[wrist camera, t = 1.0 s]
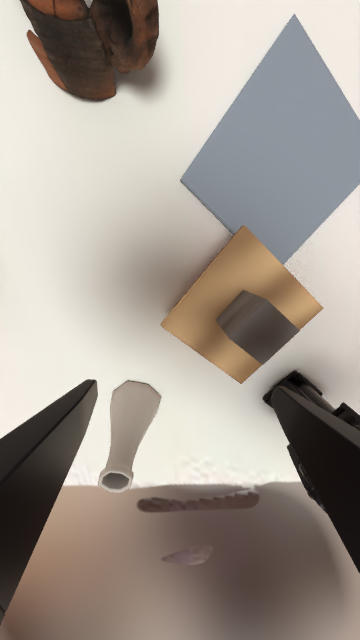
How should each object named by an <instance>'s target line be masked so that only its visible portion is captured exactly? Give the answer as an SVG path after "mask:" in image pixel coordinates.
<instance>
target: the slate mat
mask: <svg viewBox="0 0 360 640" xmlns="http://www.w3.org/2000/svg"><path fill="white" fill-rule="evenodd" d="M180 181H181V182H182V183H183V184H184V185H185V186H186V187H187V188H188V189H189V190H190V191H191V192H192V193H193V194H194V195H195V196H196V197H197V198H198V199H199V200H200V201H201V202H202V203H203V204H204V205H205V206H206V207H207V208H208V209H209V210H210V211H211V212H212V213H213V214H214V215H215V217H216V218H217V219H218V220H219V221H220V222H221V223H222V224H223V225H224V226H225V227H226V228H227V229H228V230H229V231H230V232H231V233H232V234H233V235H234V234H235V233H236V232H237V231H238V230H239V228H240V227H241V226H243V225H245V226H246V227H247V228H248V229H249V230H250V231H251V232H252V233H253V234H254V235H255V237H256V238H257V239H258V240H259V241H260V242H261V243H262V244H263V245H264V246H265V247H266V248H267V249H268V250H269V251H270V252H271V253H272V254H273V255H274V256H275V258H276V259H277V260H278V261H279V262H280V263H281V264H282V265H283V264H284V263H285V262H286V261H287V260H288V259H289V258H290V257H291V256H292V255H293V254H294V253H295V252H296V251H297V250H298V248H299V247H300V246H301V245H302V244H303V243H304V242H305V241H306V240H307V239H308V238H309V237H310V236H311V235H312V234H313V233H314V232H315V230H316V229H317V228H318V227H319V226H320V225H321V224H322V223H323V222H324V221H325V220H326V219H327V218H328V217H329V216H330V215H331V213H332V212H333V211H334V210H335V209H336V208H337V207H338V206H339V205H340V204H341V203H342V202H343V201H344V200H345V199H346V198H347V197H348V195H349V194H350V193H351V192H352V191H353V190H354V189H355V188H356V187H357V186H358V185H359V184H360V120H359V119H358V117H357V115H356V114H355V112H354V110H353V109H352V107H351V105H350V104H349V102H348V100H347V99H346V97H345V96H344V94H343V92H342V91H341V89H340V87H339V86H338V84H337V82H336V81H335V79H334V78H333V76H332V74H331V73H330V71H329V69H328V68H327V66H326V64H325V63H324V61H323V59H322V58H321V56H320V55H319V53H318V51H317V50H316V48H315V46H314V45H313V43H312V41H311V40H310V38H309V37H308V35H307V33H306V32H305V30H304V28H303V27H302V25H301V23H300V22H299V20H298V18H297V17H296V15H295V14H294V15H293V16H292V17H291V19H290V20H289V22H288V23H287V25H286V26H285V28H284V29H283V31H282V32H281V34H280V35H279V36H278V38H277V39H276V41H275V42H274V44H273V45H272V47H271V48H270V50H269V51H268V53H267V54H266V55H265V57H264V58H263V60H262V61H261V63H260V64H259V66H258V67H257V69H256V70H255V71H254V73H253V74H252V76H251V77H250V79H249V80H248V82H247V83H246V85H245V86H244V88H243V89H242V90H241V92H240V93H239V95H238V96H237V98H236V99H235V101H234V102H233V104H232V105H231V106H230V108H229V109H228V111H227V112H226V114H225V115H224V117H223V118H222V120H221V121H220V123H219V124H218V125H217V127H216V128H215V130H214V131H213V133H212V134H211V136H210V137H209V139H208V140H207V141H206V143H205V144H204V146H203V147H202V149H201V150H200V152H199V153H198V155H197V156H196V158H195V159H194V160H193V162H192V163H191V165H190V166H189V168H188V169H187V171H186V172H185V174H184V175H183V176H182V178H181V180H180Z"/></svg>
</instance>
